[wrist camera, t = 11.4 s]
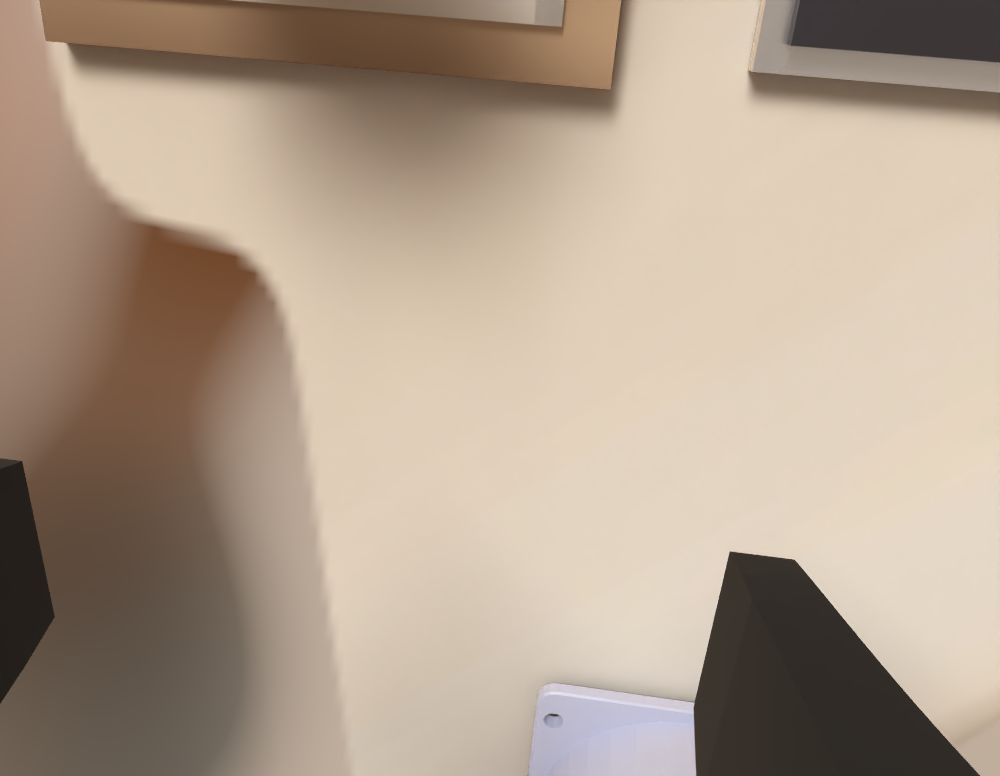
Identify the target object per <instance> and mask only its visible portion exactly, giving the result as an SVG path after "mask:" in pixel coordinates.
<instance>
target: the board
mask: <svg viewBox="0 0 1000 776" xmlns="http://www.w3.org/2000/svg"><path fill="white" fill-rule="evenodd" d="M40 7H41V13H42V20H43V26H44V33H45V39H46V41H52V42H64V43H75V44H87V45H98V46H110V47H122V48H133V49H145V50H156V51H168V52H180V53H191V54H203V55H214V56H226V57H238V58H249V59H261V60H272V61H284V62H295V63H307V64H319V65H330V66H342V67H353V68H365V69H377V70H388V71H400V72H411V73H423V74H435V75H446V76H458V77H469V78H481V79H493V80H504V81H516V82H527V83H539V84H551V85H562V86H574V87H585V88H597V89H609V90H611V82H612V73H613V65H614V57H615V48H616V40H617V32H618V23H619V15H620V7H621V0H40Z"/></svg>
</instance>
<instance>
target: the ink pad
mask: <svg viewBox="0 0 1000 776" xmlns="http://www.w3.org/2000/svg"><path fill="white" fill-rule="evenodd" d="M748 70H750V71H752V72H760V73H771V74H783V75H795V76H807V77H819V78H831V79H843V80H855V81H867V82H879V83H891V84H903V85H915V86H927V87H939V88H951V89H963V90H975V91H987V92H999V93H1000V0H761V4H760V9H759V15H758V20H757V25H756V31H755V36H754V41H753V47H752V52H751V58H750V63H749V68H748Z"/></svg>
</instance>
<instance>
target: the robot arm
mask: <svg viewBox="0 0 1000 776" xmlns="http://www.w3.org/2000/svg"><path fill="white" fill-rule="evenodd" d="M53 619H54V612H53V607H52V602H51V597H50V592H49V588H48V583H47V578H46V573H45V569H44V564H43V559H42V554H41V549H40V545H39V540H38V535H37V530H36V526H35V521H34V516H33V511H32V506H31V502H30V497H29V492H28V487H27V483H26V478H25V473H24V468H23V463H22V461H16V460H8V459H0V703H1V702H2V700H3V699H4V697H5V696H6V694H7V692H8V691H9V690H10V688H11V686H12V685H13V683H14V682H15V680H16V679H17V677H18V676H19V674H20V673H21V671H22V670H23V668H24V667H25V665H26V664H27V662H28V660H29V658H30V657H31V655H32V653H33V652H34V650H35V648H36V647H37V645H38V644H39V642H40V640H41V639H42V637H43V635H44V634H45V632H46V630H47V629H48V627H49V625H50V624H51V622H52V620H53ZM548 714H557V715H560V716H554V717H553V716H550V715H548ZM528 776H980V775H978V773H977V772H976V771H975V770H974V769H973V768H972V767H971V765H970V764H969V763H968V762H967V761H966V760H965V759H964V758H963V757H962V756H961V755H960V753H959V752H958V751H957V750H956V749H955V748H954V747H953V746H952V745H951V744H950V743H949V741H948V740H947V739H946V738H945V737H944V736H943V735H942V734H941V732H940V731H939V730H938V729H937V728H936V727H935V726H934V725H933V724H932V722H931V721H930V720H929V719H928V718H927V717H926V716H925V714H924V713H923V712H922V711H921V710H920V709H919V708H918V706H917V705H916V704H915V703H914V702H913V701H912V700H911V698H910V697H909V696H908V695H907V694H906V693H905V692H904V690H903V689H902V688H901V687H900V686H899V685H898V683H897V682H896V681H895V680H894V679H893V677H892V676H891V675H890V674H889V673H888V672H887V670H886V669H885V668H884V667H883V666H882V665H881V663H880V662H879V661H878V660H877V659H876V657H875V656H874V655H873V654H872V653H871V651H870V650H869V649H868V648H867V647H866V645H865V644H864V643H863V642H862V641H861V639H860V638H859V637H858V636H857V635H856V633H855V632H854V631H853V630H852V629H851V627H850V626H849V625H848V624H847V622H846V621H845V620H844V619H843V618H842V616H841V615H840V614H839V613H838V611H837V610H836V609H835V608H834V607H833V605H832V604H831V603H830V602H829V600H828V599H827V598H826V597H825V596H824V594H823V593H822V592H821V591H820V589H819V588H818V587H817V586H816V585H815V583H814V582H813V581H812V580H811V579H810V577H809V576H808V575H807V574H806V573H805V571H804V570H803V569H802V568H801V567H800V566H799V564H798V563H797V562H796V561H795V560H792V559H784V558H777V557H769V556H761V555H753V554H745V553H737V552H730V553H729V557H728V562H727V566H726V570H725V574H724V579H723V583H722V587H721V592H720V596H719V600H718V605H717V609H716V613H715V617H714V622H713V626H712V630H711V635H710V639H709V643H708V648H707V652H706V656H705V660H704V665H703V669H702V673H701V678H700V682H699V686H698V691H697V695H696V699H695V703H693V702H686V701H679V700H672V699H665V698H658V697H651V696H644V695H637V694H630V693H623V692H616V691H609V690H602V689H594V688H587V687H580V686H573V685H566V684H559V683H550V684H547V685H544V686H543V687H542V688H541V689H540V690H539V692H538V695H537V703H536V711H535V720H534V728H533V736H532V745H531V753H530V761H529V770H528Z"/></svg>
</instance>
